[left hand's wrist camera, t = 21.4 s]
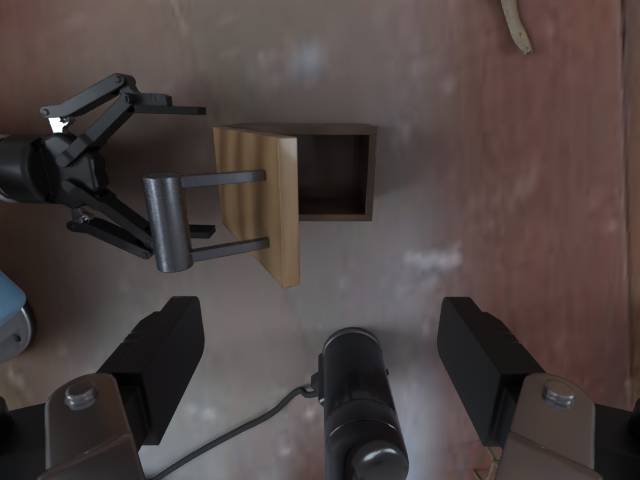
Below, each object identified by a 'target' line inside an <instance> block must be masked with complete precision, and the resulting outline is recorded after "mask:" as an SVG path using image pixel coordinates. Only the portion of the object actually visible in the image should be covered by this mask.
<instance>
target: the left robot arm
mask: <svg viewBox="0 0 640 480" xmlns="http://www.w3.org/2000/svg"><path fill="white" fill-rule="evenodd" d="M204 343H205V338H204V330H203V323H202V315H201V308H200V302H199V299H198V297H196V296H173V297H171V298H170V300H169V301H168V302H167V303H166V305H165V306H164V307H163V308H162V310H161V311H160V312H153V313H152V314H150V315H149V316H147V317H146V318H144V319H142V320H141V321H140V322H139V323H138V324H137V325H136V327H135V328H134V329H133V330H132V331H131V334H129V335H128V336H127V337H126V338H125V339H124V342H123V343H121V344H120V345H119V346H118V348H117V349H116V350H115V351H114V352H113V353H112V355H111V356H110V357H109V358H108V359H107V360H106V362H105V363H104V364H103V365H102V366H101V367H100V369H99V370H98V371H97V372H96V373H92V374H88V375H84V376H81V377H78V378H76V379H73V380H71V381H69V382H67V383H66V384H64V385H63V386H61V387H60V388H58V389H57V390H56V391H55V392H54V393H53V394H52V395H51V396H50V397H49V399H48V400H47V402H46V403H43V404H38V405H34V406H30V407H25V408H21V409H16V410H12V411H9V410H8V407H7V405H6V402H5V400H4V399H3V398H2V397H1V396H0V480H146V479H145V476H144V472H143V469H142V465H141V462H140V458H139V455H138V452H139V450H140V448H141V446H142V445H159V444H160V442H161V440H162V438H163V435H164V433H165V431H166V429H167V427H168V425H169V423H170V421H171V419H172V417H173V415H174V413H175V411H176V409H177V406H178V404H179V402H180V400H181V398H182V396H183V394H184V392H185V390H186V388H187V386H188V384H189V382H190V380H191V378H192V375H193V373H194V371H195V369H196V367H197V365H198V363H199V361H200V359H201V357H202V354H203V350H204ZM437 346H438V352H439V355H440V358H441V360H442V362H443V364H444V366H445V368H446V370H447V372H448V374H449V376H450V378H451V380H452V382H453V385H454V387H455V389H456V391H457V393H458V395H459V397H460V399H461V401H462V403H463V405H464V407H465V409H466V411H467V413H468V415H469V417H470V419H471V421H472V423H473V425H474V427H475V429H476V432H477V434H478V436H479V438H480V440H481V442H482V444H483V446H484V447H501V448H502V450H503V451H502V455H501V458H500V462H499V465H498V469H497V472H496V476H495V479H494V480H640V398H639V399H638V400H637V402H636V404H635V407H634V409H633V412H630V411H626V410H621V409H617V408H612V407H608V406H603V405H599V404H595V403H594V402H593V400H592V399H591V397H590V396H589V395H588V394H587V393H586V392H585V391H584V390H583V389H582V388H580V387H579V386H577V385H576V384H574V383H573V382H571V381H569V380H567V379H564V378H562V377H559V376H556V375H552V374H548V373H546V372H545V371H544V370H543V369H542V367H541V366H540V365H539V364H538V363H537V362H536V360H535V359H534V358H533V357H532V356H531V355H530V354H529V352H528V351H527V350H526V349H525V348H524V347H523V345H522V344H519V341H518V340H517V338H516V337H515V336H514V335H513V334H511V332H510V330H509V329H508V328H507V327H506V326H505V325H504V323H503V322H502V321H500V320H499V319H497V318H496V317H494V316H492V315H491V314H489V313H488V312H482V311H481V310H480V309H479V308H478V306H477V305H476V304H475V303H474V301H473V300H472V299H471V298H470V297H445V298H444V299H443V302H442V307H441V315H440V322H439V329H438V336H437ZM388 374H389V373H388V369H387V370H386V369H385V365H384V360H383V355H382V350H381V346H380V343H379V341H378V340H377V338H376V337H375V336H374V335H373V334H371V333H370V332H368V331H366V330H363V329H359V328H347V329H343V330H340V331H338V332H336V333H334V334H333V335H331V336H330V337H329V338H328V340H327V341H326V343H325V345H324V347H323V352H322V353H321V354H320V355H319V356H318V372H317V373H315V374H314V375H312V376H311V388H313V389H314V390H315V391H311V392H307V391H306V390H305V389H304V388H303V387H300V388H297V389H295V390H293V391H292V392H291V393H289V394H288V395H287V396H286V397H285V398H284V399H283V400H282V401H281V402H280V403H279V404H278V405H277V406H276V407H275V408H273V409H272V410H271V411H269V412H268V413H266V414H264V415H263V416H261V417H259V418H257V419H255V420H253V421H251V422H249V423H247V424H245V425H243V426H241V427H239V428H237V429H235V430H233V431H231V432H229V433H227V434H225V435H223V436H222V437H220V438H218V439H216V440H214V441H212V442H211V443H209V444H207V445H205V446H203V447H202V448H200V449H198V450H196V451H195V452H193V453H191V454H189V455H188V456H186V457H184V458H183V459H181V460H180V461H178V462H176V463H175V464H173V465H172V466H170V467H169V468H167V469H166V470H164V471H163V472H161V473H160V474H158V475H157V476H155V477H154V478H153V479H151V480H160V479H162V478H163V477H165V476H166V475H168V474H169V473H171V472H172V471H174V470H175V469H177V468H179V467H180V466H182V465H183V464H185V463H187V462H188V461H190V460H192V459H193V458H195V457H197V456H199V455H200V454H202V453H204V452H206V451H208V450H209V449H211V448H213V447H215V446H217V445H219V444H220V443H222V442H224V441H226V440H228V439H230V438H232V437H234V436H236V435H238V434H239V433H241V432H243V431H245V430H248V429H250V428H252V427H254V426H256V425H258V424H260V423H262V422H264V421H266V420H267V419H269V418H271V417H272V416H274V415H275V414H276V413H278V412H279V411H280V410H281V409H282V408H283V407H284V406H285V405H286V404H287V403H288V402H289V401H290V400H291V399H292V398H293V397H295V396H296V395H298V394H300V393H301V394H302V396H304V397H305V398H313V397H317V396H318V401H319V403H320V404H321V405H322V406H323V407H324V437H325V474H326V480H405V479H406V477H407V474H408V470H409V460H408V454H407V450H406V446H405V443H404V439H403V435H402V431H401V427H400V423H399V420H398V416H397V412H396V408H395V404H394V400H393V396H392V392H391V388H390V384H389V380H388Z"/></svg>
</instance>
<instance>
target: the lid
mask: <svg viewBox="0 0 640 480" xmlns="http://www.w3.org/2000/svg"><path fill="white" fill-rule="evenodd" d="M213 135H214V145H215V155H216V165H217V173H203V174H190V175H182V174H181V173H177V172H158V173H150V174H146V175H143V176H142V183H143V189H144V194H145V200H146V206H147V212H148V217H149V223H150V229H151V234H152V240H153V246H154V251H155V257H156V263H157V268H158V270H159V271H161V272H166V273H173V272H180V271H183V270H186V269H188V268H190V267H192V266H193V264H194V262H196V261H202V260H207V259H212V258H218V257H223V256H228V255H234V254H239V253H244V252H250V253H251V254H252V255H253V256H254V257H255V259H256V260H257V261H258V262H259V263H260V264H261V265H262V266H263V267H264V268H265V269H266V270H267V271H268V272H269V273H270V274H271V275H272V276H273V278H274V279H275V280H276V281H277V282H278V283H279V284H280V285H281V286H282V287H283V288H287V287H291V286H295V285H299V284H300V266H299V214H298V161H297V137H293V136H286V135H279V134H272V133H266V132H259V131H252V130H245V129H238V128H231V127H213ZM213 185H218V186H219V196H220V206H221V216H222V224H223V225H224V226H225V227H226V228H227V229H228V230H229V231H230V232H231V233H232V234H233V235H234V236H235V237H236V238H237V239H238V242H232V243H226V244H220V245H214V246H208V247H202V248H196V249H192V246H191V238H190V231H189V223H188V216H187V208H186V201H185V194H184V188H191V187H202V186H213Z"/></svg>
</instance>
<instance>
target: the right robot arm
mask: <svg viewBox="0 0 640 480" xmlns="http://www.w3.org/2000/svg"><path fill="white" fill-rule="evenodd" d="M135 84H136V81H135V79H134V78H133V77H132V76H130V75H125V74H119V73H114V74H113V75H111V76H109V77H107V78H105V79H104V80H102V81H100V82H98V83H97V84H95V85H93V86H91V87H90V88H88V89H86V90H84V91H82V92H81V93H79V94H77V95H75V96H74V97H72V98H70V99H68V100H67V101H65V102H63V103H61V104H59V105H49V106H42V107H41V108H40V114H41V115H42V116H43V117H44V118H49V121H50V124H51V127H52V130H53V134H51V135H49V136H38V135H5V134H0V202H7V203H18V202H21V203H43V204H63V205H66V206H68V207H70V209H71V218H72V221H70V222H68V223H67V228H68V230H70V231H73V232H81V233H87V234H90V235H92V236H94V237H96V238H98V239H101V240H103V241H105V242H107V243H110V244H112V245H114V246H116V247H118V248H121V249H123V250H125V251H127V252H130V253H132V254H134V255H136V256H138V257H141V258H143V259H149V258H150V257H151V256H152V255H154V254H155V251H154V246H153V240H152V234H151V229H150V223H149V222H148V221H147V220H145V219H144V218H143V217H141V216H140V215H139V214H137V213H136V212H135V211H133V210H132V209H130V208H129V207H128V206H126V205H125V204H124V203H122V202H121V201H120V200H118V199H117V197H116V195H115V194H114V193H113V192H111V191H110V190H109V189H107V188H106V186H107V184H109V181H108V177H107V174H106V172H105V159H104V157H102V156H101V154H100V153H99V152H98V151H99V150H100V149H101V148H102V147H103V146H104V145H105V144H106V143H107V140H108V139H109V138H110V137H111V136H112V135H113V134H114V133H115V132H116V131H117V130H118V129H119V128H120V127H121V126H122V125H123V124H124V123H125V122H126V121H127V120H128V119H129V118H130V117H131V116H132V115H133V114H134V113H155V114H187V115H206V107H179V106H172V97H171V96H169V95H166V94H147V93H141V92H139V91H138V89H137V87H136V85H135ZM118 95H121V96H120V97H119V98H118V99H117V100H116V101H115V102H114V103H113V104H112V105H111V106H110V107H109V108H108V110H107V111H106V112H105V113H104V114H103V115H102V116H101V117H100V118H99V119H98V120H97V121H96V122H95V123H94V124H93V125H92V126H91V127H90V128H89V129H88V130H87V131H86V132H85V133H84V134H82V135H80V136H79V137H77V136H75V135H74V134H72V133H70V132H68V127H69V126H70V125H72V124H73V123H74V122H75V120H76V119H75V117H77V116H81V115H83V114H86V113H87V112H89V111H91V110H93V109H95V108H96V107H98V106H100V105H102V104H104V103H105V102H107V101H109V100H111V99H113V98H115V97H116V96H118ZM97 196H99V197H100V198H98V197H97ZM85 205H88V206H89V207H91V208H92V209H94V210H98V211H100V212H102V213H103V214H105V215H106V216H107V217H109V218H110V219H112V220H113V221H114V222H116V223H117V224H118V225H120V226H121V227H123V228H124V229H123V228H121V227H119V226H117V225H115V224H113V223H110V222H108V221H106V220H104V219H101V218H97V217H95V214H93V213H89V212H87V211H86V210H85V209H84V206H85ZM189 231H190V238H207V239H209V238H210V237H211V236H212V235H213V233H214V232H215V231H216V230H215V225H189ZM35 333H36V321H35V317H34V314H33V312H32V310H31V308H30V306H29V304H28V303H27V302H26V295H25V293H24V292H23V291H22V290H21V289H20V288H19V287H18V286H17V285H16V284H15V283H14V282H13V281H11V280H10V279H9V278H8V277H7V276H6V275H5V274H4V273H3V272H2V271H1V269H0V364H2V363H4V362H7V361H9V360H11V359H12V358H14V357H16V356H18V355H19V354H20V353H21V352H23V351H24V350H25V349H26V348H27V347H29V345H30V344H31V343H32V341H33V339H34V337H35Z"/></svg>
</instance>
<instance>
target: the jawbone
mask: <svg viewBox="0 0 640 480" xmlns="http://www.w3.org/2000/svg"><path fill="white" fill-rule="evenodd" d="M500 1H501V4H502V8H503V11H504V14H505V17H506V21H507V24H508V27H509V30H510V33H511V36H512V38H513V40H514V42H515V43H516V44H517V46H518V47H519V49H520V51H521V53H522V54H523V56H524V55H526V54H528V53H529V52H530V53H529V54H532V53H533V51H532V47H531V44H530V41H529V39H528V36H527V34H526V31H525V29H524V28H523V26H522V24H521V21H520V19H519V15H518V11H517V4H516V0H500Z"/></svg>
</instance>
